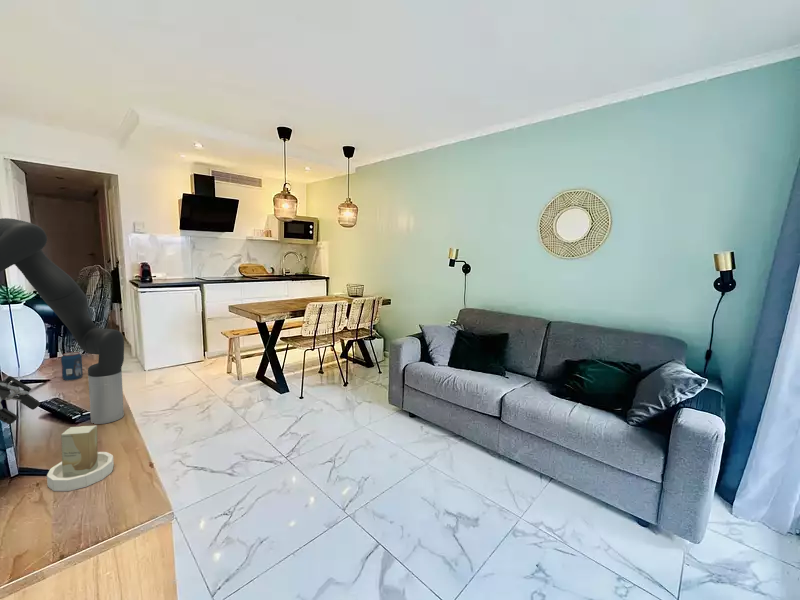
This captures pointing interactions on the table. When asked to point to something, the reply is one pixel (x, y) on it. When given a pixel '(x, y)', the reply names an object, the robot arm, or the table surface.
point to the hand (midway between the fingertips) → (26, 413)
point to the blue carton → (71, 366)
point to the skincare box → (79, 450)
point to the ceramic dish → (76, 482)
